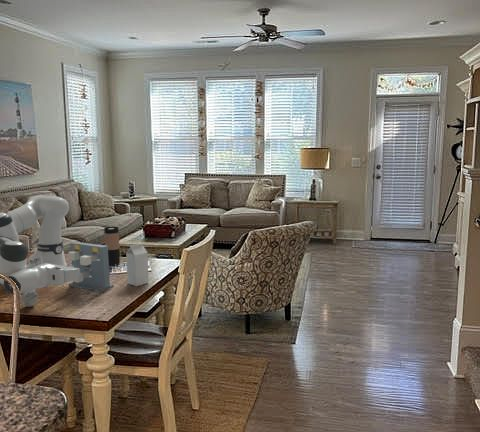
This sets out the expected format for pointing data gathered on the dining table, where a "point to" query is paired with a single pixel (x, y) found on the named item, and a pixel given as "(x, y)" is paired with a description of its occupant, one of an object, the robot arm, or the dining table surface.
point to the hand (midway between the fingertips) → (71, 266)
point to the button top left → (74, 255)
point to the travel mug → (112, 244)
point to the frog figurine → (29, 298)
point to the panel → (93, 267)
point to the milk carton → (137, 265)
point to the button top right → (88, 259)
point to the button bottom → (82, 276)
